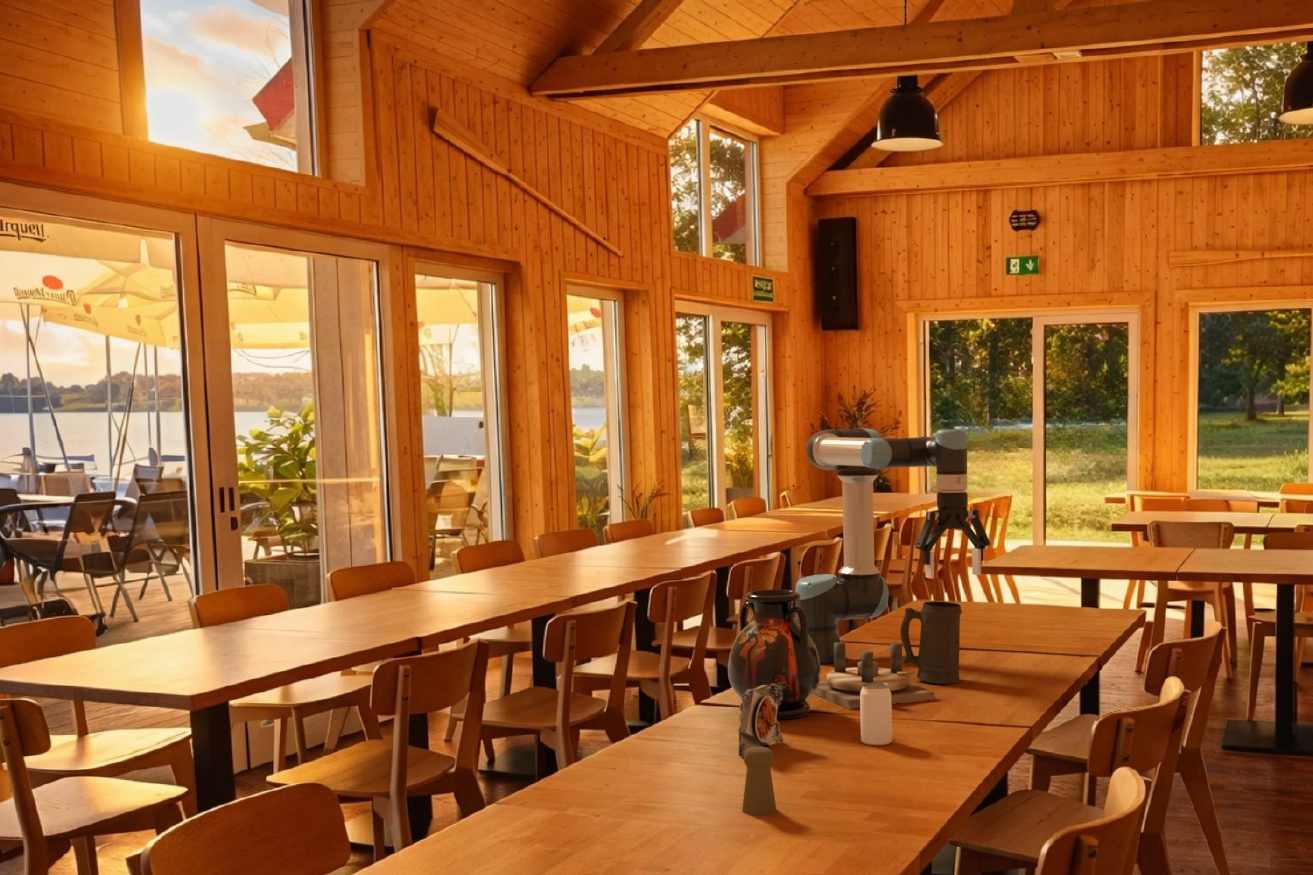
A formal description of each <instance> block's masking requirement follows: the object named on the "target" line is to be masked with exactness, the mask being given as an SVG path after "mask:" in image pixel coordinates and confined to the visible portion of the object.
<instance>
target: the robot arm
mask: <svg viewBox="0 0 1313 875" xmlns="http://www.w3.org/2000/svg"><path fill="white" fill-rule="evenodd" d="M967 441H968V440H967V432H966V431H965V430H964V429H938V430H937V431H936V433H935V436H934V437H933V436H919V437H917V436H916V437H885V438H883V437H882V436H881V434H880V433H879V432H878V431H877V430H875V429H871V428H861V427H860V428H843V429H842V428H837V429H832V428H830V429H823V430H820V431H818V432H815V433H814V434H812V436H810V438H809V439H808V440H807V442H806V446H805V455H806V458H807V461H809V463H810V464H811V465H812V466H814V467H815V468H817V469H819V470H823V471H836V477H837V478H838V479H839V480H840V481H841V482H842V520H843V521H842V523H843V528H842V530H843V531H842V532H843V534H842V535H843V566H842V567H841V568H840V569H839V570H838V578H837V576H836V575H835V574H832V573H831V574H830V573H823V574H815V575H808V576H804V577H802V578H799V579H798V580H797V582H796V584H795V592H798V593H799V594H800V595H801V597H800V599H798V600H797V601H795V602H794V603H795V606H796V607H801V608H802V609H803V610H804V611H805V613H806V616H807V621H808V634H809V635H810V637H811V638H812V640H813V642H814V644H815V646H816V649H817V652H818V655H819V661H820V665H821V664H822V663H823V664H832V663H833V664H834V643H837V642H841V643H842V641H841V639H840V635H839V631H838V630H839V629H838V621H844V620H856V619H857V620H858V619H864V620H867V619H870V618H871V619H872V618H877V617H879V616H880V615H882V613H883V612H884V611H885V610H886V608H887V605H888V602H889V594H890V593H889V586H888V585H887V581H886V579H885V578H884V577H882V575H881V574H880V573H881V571H880V570H879V569H878V568H877V567H876V566H875V539H874V538H875V534H874V533H875V528H874V527H875V526H874V525H875V523H874V520H875V519H874V518H875V517H874V481H875V480H876V479H877V478H878V476H879V470H880V469H889V468H893V469H894V468H921V467H923V468H924V467H931V468H932V467H935V469H936V471H935V472H936V490H937V491H938V492H937V493H936V506H937V512H936V511H926V513H925V521H924V524H923V526H922V528H921V530H920V532H919V535H918V538H917V540H916V542H915V546H914V548H915V549H917V550H919V551H921V553H922V564H923V565H925V566H924V568H925V570H924V571H925V573H924V574H925V575H924V576H925V578H926V579H927V578H928V579H934V578H935V562H934V561H935V560H934V559H935V558H934V555H935V554H934V551H932V549H933V548H934V547H935V545H936V543H937V542H938V541H939V539H940V538H941V536H942V535H943V533H944V532H946V530H953V529H960V530H961V531H962V532H963V534H964V535H965V536H966V537H967V539H968V540H969V541H970V543H971V544H972V546H974V548H971V569H972V570H971V572H972V575H975V576H982V562H983V561H984V550H985V549H986V548H987V547H989V546H990V545H991V540H990V539H989V537H988V534H987V533H986V530H985V528H984V526H983V524H982V521H981V519H980V514H979V513H980V512H979V510H978V509H972V508H970V509H969V510H968V505H969V504H968V503H969V501H968V499H969V496H968V495H969V494H968V492H967V490H968V442H967ZM968 518H969V521H970V523H971V525H972V527H973V529H972V527H971V525H970V524H969V522H968V521H967V519H968ZM937 520H938V521H937ZM935 521H937V523H936V522H935ZM935 523H936V524H935ZM973 530H974V531H973ZM795 619H796V621H797V622H798V623H799V624H800V618H799V616H798V614H797V613H796V612H795Z"/></svg>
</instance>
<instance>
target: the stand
mask: <svg viewBox="0 0 1313 875" xmlns="http://www.w3.org/2000/svg"><path fill="white" fill-rule="evenodd" d="M812 694H813V695H815V696H818V697H820V696H821V697H820V698H822V697H823V698H822V699H825V700H827V701H830V702H831V703H834V704H836V703H837V705H839V704H840V705H839V706H841V707H843V706H844V708H846V709H848V710H851V709H852V710H853V709H860V692H859V691H848V690H842V689H837V688H834V687H831V686H829V685H828V684H827V679H826V680H824V679H823V680H819V683H818V686H817V687H816V689H815V691H814V692H813V693H812ZM927 700H930V701H935V691H934V690H930V689H927V688H925V687H922V686H919V685H917V684H914V683H911V682H910V684H909V686H908V687H906V688H903V689H899V690H893V691H891V703H892V705H897V704H896V703H901V704H909V703H917V702H918V703H919V702H928V701H927Z"/></svg>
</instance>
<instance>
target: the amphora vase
mask: <svg viewBox="0 0 1313 875" xmlns="http://www.w3.org/2000/svg"><path fill="white" fill-rule="evenodd" d="M800 597H801V595H800V594H799V593H798V592H795V591H794V590H791V589H790V590H789V589H758V590H753V591H748V592H747V593H746V594H745V596H744V598H745V600H747V601H746V602H744V603H743V604H742V606H741V608H740V613H739V633H738V635H737V636H736V637H735V640H734V641H733V644H732V646H731V650H730V652H729V657H728V663H727V676H728V677H727V678H728V680H729V683H730V686H731V687H732V689H733V691H734V692H735V693H736V694H737V695H738V696H739V698H740V699H742V696H743V694H745V692H746V690H748V689H754V688H757V687H759V686H761V685H770V684H777V683H783V682H787V681H788V685H787V686H786V687H785V688H784V689H783V690H782V693H783V700H782V702H781V704H780V706H778V709H777V715H776V716H777V719H776V720H777V721H778V720H780V721H783V720H784V721H785V720H791V719H793V720H794V719H798V718H801V717H803V716H806V715H807V714H808V713H809V712H810V711H811V704H810V703H809V702H808V699H809V698H810V697H811V696H812V694H813V692H814V691H815V689H816V687H817V686H818V683H819V681H821V669H822V668H821V664H820V661H819V655H818V652H817V649H816V646H815V644H814V642H813V640H812V638H811V637H810V635H809V634H808V621H807V616H806V613H805V611H804V610H803V609H802V608H801V607H796V605H795V606H793V604H794V603H795V601H797V600H798V599H800ZM749 609H751V611H752V612H753V613H752V617H751V619H750V620H749V622H748V612H749ZM796 613H797V614H798V616H799V618H800V624H799V623H798V622H797V621H796V617H795V614H796ZM738 708H739V711H740V713H742V709H743V702H742V701H741V702H740V704H739V707H738Z"/></svg>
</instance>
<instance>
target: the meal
mask: <svg viewBox="0 0 1313 875" xmlns="http://www.w3.org/2000/svg"><path fill="white" fill-rule="evenodd" d="M787 685H788V681H787V682H783V683H777V684H770V685H761V686H759V687H757V688H754V689H748V690H746V692H745V694H743V696H742V698H741V702H743V709H742V712H740V713H741V714H740V716H739V717H738V719H739V722H740V725H739V727H738V756H739V757H741V758H743V759H744V752H745V751H746V750H747V749H748V748H750V747H764V746H769V747H770V746H772V743H776V744H777V743H783V742H784V737H783V735H782V734H781V730H780V729H781V728H780V726H781V724H780V723H779V721H778V720H776V719H777V716H776V715H777V709H778V706H780V704H781V702H782V700H783V693H782V690H783V689H784V688H785V687H786V686H787Z"/></svg>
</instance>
